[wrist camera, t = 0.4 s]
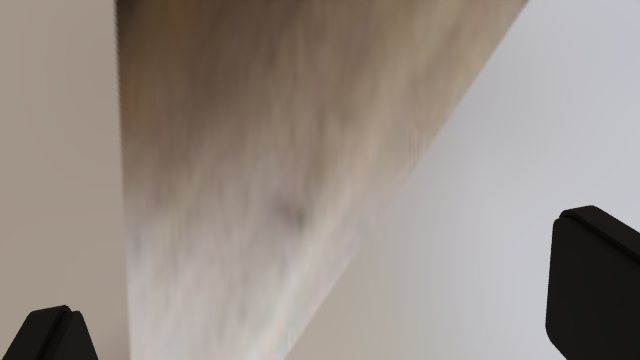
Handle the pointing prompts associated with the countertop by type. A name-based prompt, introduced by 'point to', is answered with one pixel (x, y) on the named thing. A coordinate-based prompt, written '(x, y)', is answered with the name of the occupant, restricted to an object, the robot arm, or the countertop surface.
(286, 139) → the countertop surface
